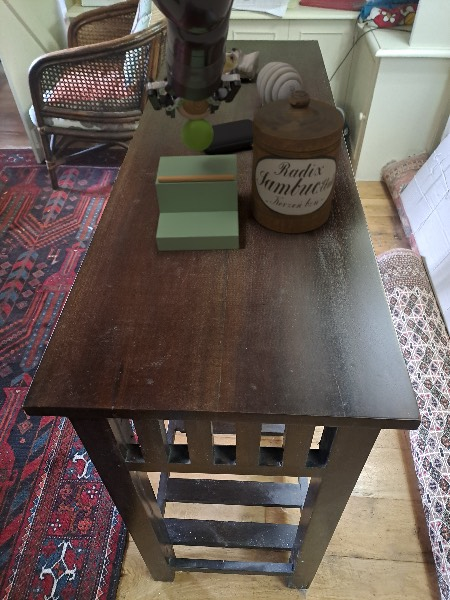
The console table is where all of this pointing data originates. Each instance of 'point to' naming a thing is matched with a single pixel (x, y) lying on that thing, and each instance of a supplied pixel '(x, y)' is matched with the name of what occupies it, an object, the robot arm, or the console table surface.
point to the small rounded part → (196, 125)
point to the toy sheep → (277, 82)
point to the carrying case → (231, 136)
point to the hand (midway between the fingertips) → (191, 110)
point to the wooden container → (295, 162)
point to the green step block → (197, 203)
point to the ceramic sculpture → (241, 63)
